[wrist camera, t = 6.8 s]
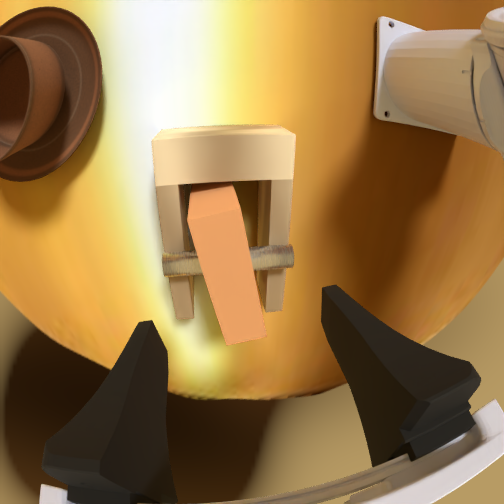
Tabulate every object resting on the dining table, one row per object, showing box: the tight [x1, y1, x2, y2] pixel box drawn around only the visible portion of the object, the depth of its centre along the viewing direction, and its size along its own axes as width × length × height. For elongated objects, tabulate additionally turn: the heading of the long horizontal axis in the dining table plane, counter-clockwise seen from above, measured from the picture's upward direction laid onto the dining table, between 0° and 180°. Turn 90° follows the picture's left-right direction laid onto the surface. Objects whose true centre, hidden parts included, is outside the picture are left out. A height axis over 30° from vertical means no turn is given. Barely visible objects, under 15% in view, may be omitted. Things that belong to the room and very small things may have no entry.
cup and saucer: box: [0, 7, 102, 182], centre depth 11 cm, size 12×12×6 cm
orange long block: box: [187, 181, 267, 345], centre depth 18 cm, size 2×8×6 cm, turn 10°
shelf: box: [152, 125, 296, 319], centre depth 19 cm, size 7×12×5 cm, turn 0°
